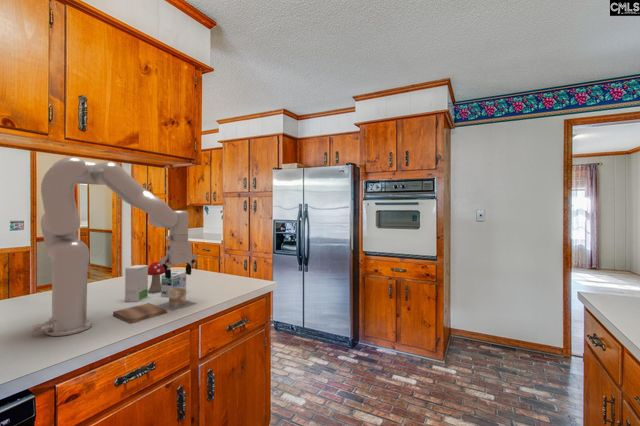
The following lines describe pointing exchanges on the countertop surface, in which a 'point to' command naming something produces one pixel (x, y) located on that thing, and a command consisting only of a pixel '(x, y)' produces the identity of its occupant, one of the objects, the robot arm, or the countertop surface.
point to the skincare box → (136, 283)
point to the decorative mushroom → (155, 276)
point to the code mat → (167, 306)
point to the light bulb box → (172, 282)
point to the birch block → (177, 296)
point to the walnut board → (139, 312)
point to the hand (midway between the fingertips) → (178, 276)
